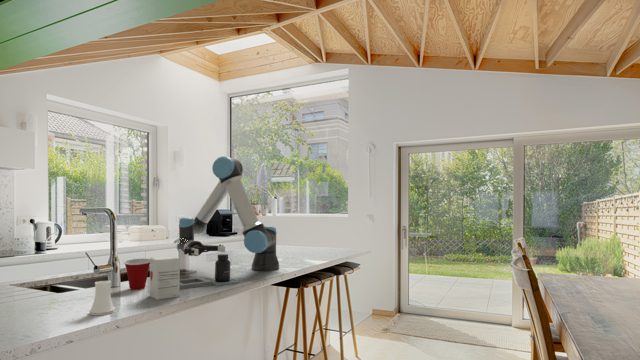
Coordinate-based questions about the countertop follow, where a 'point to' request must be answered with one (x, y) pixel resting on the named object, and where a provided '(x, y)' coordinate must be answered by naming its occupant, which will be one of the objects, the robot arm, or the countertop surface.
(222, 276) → the supplement bottle
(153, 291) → the supplement box
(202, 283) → the grey square tray
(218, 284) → the drip mat
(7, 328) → the countertop surface
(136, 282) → the plastic cup
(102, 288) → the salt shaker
